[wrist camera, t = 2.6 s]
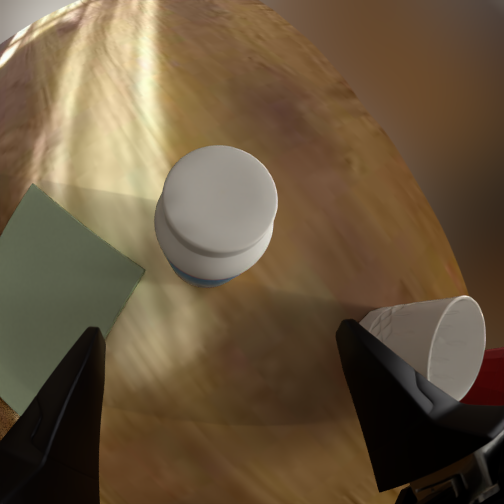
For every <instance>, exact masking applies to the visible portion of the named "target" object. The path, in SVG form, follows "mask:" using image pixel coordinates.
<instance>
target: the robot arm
mask: <svg viewBox="0 0 504 504" xmlns="http://www.w3.org/2000/svg"><path fill="white" fill-rule="evenodd" d="M336 341H337V345H338V350H339V354H340V359H341V364H342V368H343V372H344V375H345V378H346V381H347V384H348V387H349V390H350V393H351V396H352V400H353V403H354V406H355V409H356V412H357V416H358V419H359V422H360V425H361V429H362V432H363V435H364V439H365V442H366V446H367V449H368V453H369V457H370V460H371V464H372V468H373V471H374V475H375V479H376V483H377V487H378V490H379V492H383V491H387V490H390V489H393V488H396V487H399V486H402V485H404V484H407V483H410V485H409V486H408V487H406V488H404V489H402V490H401V491H400V494H399V496H398V498H397V500H396V502H395V504H504V405H503V406H489V405H469V404H464V403H461V402H459V401H457V400H456V399H454V398H453V397H451V396H450V395H448V394H447V393H445V392H444V391H442V390H441V389H440V388H438V387H437V386H435V385H434V384H433V383H431V382H430V381H429V380H427V379H426V378H425V377H424V376H422V375H421V374H420V373H419V372H417V371H415V369H414V368H413V367H411V366H410V365H409V364H408V363H407V362H405V361H404V360H403V359H402V358H400V357H399V356H398V355H397V354H396V353H394V352H393V351H392V350H391V349H390V348H388V347H387V346H386V345H385V344H383V343H382V342H381V341H380V340H379V339H377V338H376V337H375V336H374V335H372V334H371V333H370V332H369V331H368V330H366V329H365V328H364V327H363V326H361V325H360V324H359V323H358V322H357V321H355V320H354V319H345V320H343V321H342V322H341V324H340V326H339V328H338V330H337V332H336ZM105 351H106V343H105V340H104V337H103V335H102V332H101V330H100V328H99V327H93V326H89V327H88V328H87V329H86V330H85V331H84V332H83V333H82V335H81V336H80V337H79V338H78V340H77V341H76V342H75V343H74V345H73V346H72V347H71V349H70V350H69V351H68V352H67V354H66V355H65V356H64V358H63V359H62V360H61V361H60V363H59V364H58V365H57V367H56V368H55V369H54V371H53V372H52V374H51V375H50V376H49V378H48V379H47V380H46V382H45V383H44V385H43V386H42V387H41V389H40V390H39V392H38V393H37V396H35V397H34V399H33V400H32V402H31V403H30V404H29V406H28V407H27V409H26V410H25V411H24V413H23V414H22V415H21V416H20V418H19V419H18V420H17V422H16V423H15V424H14V425H13V426H12V428H11V429H10V430H9V431H8V432H7V434H6V435H5V436H4V437H3V439H2V440H1V441H0V504H100V497H99V442H100V425H101V412H102V402H103V393H104V382H105Z"/></svg>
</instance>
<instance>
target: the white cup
mask: <svg viewBox="0 0 504 504" xmlns="http://www.w3.org/2000/svg"><path fill="white" fill-rule="evenodd" d="M359 324H360V325H361V326H363V327H364V328H365V329H366V330H368V331H369V332H370V333H371V334H372V335H374V336H375V337H376V338H377V339H379V340H380V341H381V342H382V343H383V344H385V345H386V346H387V347H388V348H390V349H391V350H392V351H393V352H394V353H396V354H397V355H398V356H399V357H400V358H402V359H403V360H404V361H405V362H407V363H408V364H409V365H410V366H411V367H413V368H414V369H415V371H417V372H419V373H420V374H421V375H422V376H424V377H425V378H426V379H427V380H429V381H430V382H431V383H433V384H434V385H435V386H437V387H438V388H440V389H441V390H442V391H444V392H445V393H447V394H448V395H450V396H451V397H453V398H454V399H456V400H457V401H460V400H461V399H462V398H463V397H464V396H465V395H466V394H467V392H468V391H469V390H470V388H471V387H472V385H473V383H474V381H475V379H476V377H477V375H478V373H479V370H480V367H481V364H482V360H483V356H484V350H485V340H486V335H485V334H486V332H485V323H484V318H483V315H482V312H481V309H480V308H479V305H478V304H477V303H476V301H475V300H474V299H472V298H471V297H469V296H458V297H452V298H445V299H438V300H430V301H422V302H416V303H410V304H402V305H396V306H393V307H382V308H379V309H376V310H373V311H370V312H369V313H368V314H367V315H366V316H365V317H364V318H363V319H362V320H361V321H360V322H359Z"/></svg>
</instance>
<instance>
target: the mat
mask: <svg viewBox="0 0 504 504" xmlns="http://www.w3.org/2000/svg"><path fill="white" fill-rule="evenodd" d="M144 273H145V270H144V269H143V268H141V267H140V266H138V265H137V264H136V263H134V262H133V261H131V260H130V259H129V258H127V257H126V256H124V255H123V254H122V253H120V252H119V251H117V250H116V249H115V248H113V247H112V246H111V245H109V244H108V243H107V242H105V241H104V240H103V239H101V238H100V237H99V236H97V235H96V234H95V233H93V232H92V231H91V230H89V229H88V228H87V227H85V226H84V225H83V224H82V223H80V222H79V221H78V220H77V219H75V218H74V217H73V216H72V215H70V214H69V213H68V212H67V211H65V210H64V209H63V208H62V207H60V206H59V205H58V204H57V203H56V202H54V201H53V200H52V199H51V198H50V197H48V196H47V195H46V194H45V193H44V192H43V191H41V190H40V189H39V188H38V187H37V186H36V185H35V184H32V185H31V186H30V188H29V189H28V191H27V192H26V194H25V195H24V197H23V199H22V200H21V202H20V203H19V205H18V207H17V208H16V210H15V212H14V213H13V215H12V217H11V218H10V220H9V222H8V224H7V225H6V227H5V229H4V231H3V233H2V235H1V237H0V397H1V398H2V399H3V400H4V401H5V402H6V403H7V404H8V405H9V406H10V407H11V408H12V409H13V410H14V411H15V412H16V413H17V414H18V415H19V416H21V415H22V414H23V413H24V411H25V410H26V409H27V407H28V406H29V404H30V403H31V402H32V400H33V399H34V397H35V396H37V393H38V392H39V390H40V389H41V387H42V386H43V385H44V383H45V382H46V380H47V379H48V378H49V376H50V375H51V374H52V372H53V371H54V369H55V368H56V367H57V365H58V364H59V363H60V361H61V360H62V359H63V358H64V356H65V355H66V354H67V352H68V351H69V350H70V349H71V347H72V346H73V345H74V343H75V342H76V341H77V340H78V338H79V337H80V336H81V335H82V333H83V332H84V331H85V330H86V329H87V328H88V327H89V326H93V327H99V328H100V330H101V332H102V335H103V337H104V340H105V339H106V337H107V335H108V333H109V332H110V330H111V328H112V326H113V325H114V323H115V321H116V319H117V318H118V316H119V314H120V312H121V311H122V309H123V307H124V305H125V304H126V302H127V300H128V299H129V297H130V295H131V294H132V292H133V290H134V289H135V287H136V286H137V284H138V282H139V281H140V279H141V277H142V276H143V274H144Z"/></svg>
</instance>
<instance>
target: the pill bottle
mask: <svg viewBox="0 0 504 504" xmlns="http://www.w3.org/2000/svg"><path fill="white" fill-rule="evenodd" d="M277 203H278V199H277V191H276V187H275V183H274V181H273V179H272V177H271V175H270V173H269V172H268V170H267V169H266V168H265V166H264V165H263V164H262V163H261V162H260V161H259V160H257V159H256V158H255V157H253V156H252V155H250V154H249V153H247V152H245V151H242V150H240V149H237V148H234V147H230V146H220V145H216V146H207V147H203V148H199V149H196V150H194V151H192V152H190V153H188V154H187V155H185V156H184V157H182V158H181V159H180V160H179V161H178V162H177V163H176V164H175V165H174V166H173V167H172V169H171V170H170V172H169V174H168V176H167V178H166V180H165V183H164V187H163V192H162V194H161V196H160V198H159V200H158V203H157V206H156V211H155V219H154V223H155V232H156V236H157V239H158V242H159V245H160V247H161V249H162V251H163V253H164V255H165V256H166V258H167V260H168V261H169V263H170V265H171V267H172V268H173V270H174V271H175V273H176V274H177V275H178V276H179V277H180V278H181V279H183V280H184V281H185V282H187V283H189V284H191V285H194V286H197V287H203V288H211V287H216V286H220V285H222V284H224V283H226V282H228V281H230V280H231V279H233V278H235V277H236V276H238V275H240V274H241V273H243V272H245V271H246V270H248V269H249V268H250V267H251V266H253V265H254V264H255V263H256V262H257V261H258V260H259V258H260V257H261V256H262V255H263V253H264V252H265V250H266V248H267V246H268V244H269V242H270V239H271V236H272V231H273V221H274V218H275V215H276V211H277Z"/></svg>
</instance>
